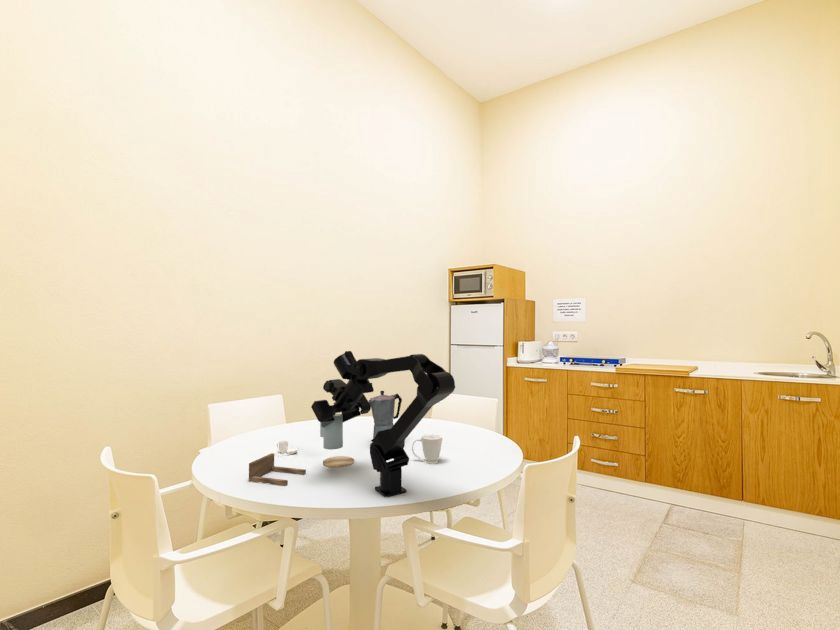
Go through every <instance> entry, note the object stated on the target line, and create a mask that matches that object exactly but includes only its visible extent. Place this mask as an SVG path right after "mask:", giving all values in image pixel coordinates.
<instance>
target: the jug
mask: <svg viewBox="0 0 840 630" xmlns="http://www.w3.org/2000/svg"><path fill="white" fill-rule="evenodd" d="M333 417H334V419H335V421H333V422H331V423H330V424H328V425H327V426H325V427H322V426H321V422H320V423H319V428H320V429H319V432H320V434H319V437H321V438H323V441H322V442H323V446H322V447H323V449H324V450H337V449H342V448H344V436H343V435H344V433H343V432H344V431H343V429H344V425H343V424H344V422H343V415H342V413H335V415H334V416H333Z"/></svg>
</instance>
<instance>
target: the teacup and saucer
mask: <svg viewBox="0 0 840 630" xmlns="http://www.w3.org/2000/svg"><path fill="white" fill-rule="evenodd" d="M276 447H277V450H274V451H272V452H271V453H274V457H275V456H276V457H284V456H290V455H293V454H296V453H297V452H298V451H299V449H298V448H297V447H296V448H289V441H288V440H281V441H278V442H277V443H276ZM277 452H279V454H276V453H277Z"/></svg>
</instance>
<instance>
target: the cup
mask: <svg viewBox="0 0 840 630" xmlns="http://www.w3.org/2000/svg"><path fill="white" fill-rule="evenodd" d="M417 441H418V442H421V445H422V452H423V455H424V456H423V457H424V459H423V458H421V457H420V456H419V455H417V454H416V453H415V452H414V445H415V443H416V442H417ZM442 443H443V436H442V435H440V434H434V433H429V434H423V435H421V436H420V438H416V439H415V440H414V441H413V442H412V446H411V451H412V454H413V455H414V457H416V458H417V459H418V460H420V461H422V462H425V463H426V464H430V463H431V464H432V463H433V464H437V463H439V460H438V459H440V454H441V450H442Z"/></svg>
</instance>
